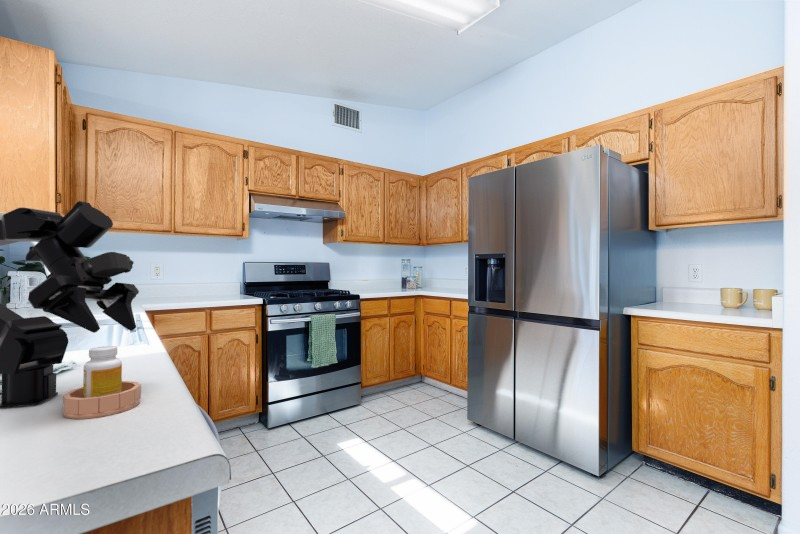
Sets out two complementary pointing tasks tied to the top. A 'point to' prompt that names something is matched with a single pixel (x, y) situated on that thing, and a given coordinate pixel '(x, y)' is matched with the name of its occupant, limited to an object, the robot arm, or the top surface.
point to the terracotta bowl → (101, 402)
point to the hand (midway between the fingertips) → (116, 330)
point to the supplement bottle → (102, 372)
